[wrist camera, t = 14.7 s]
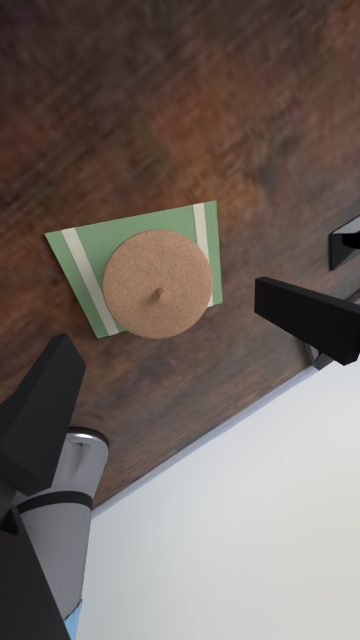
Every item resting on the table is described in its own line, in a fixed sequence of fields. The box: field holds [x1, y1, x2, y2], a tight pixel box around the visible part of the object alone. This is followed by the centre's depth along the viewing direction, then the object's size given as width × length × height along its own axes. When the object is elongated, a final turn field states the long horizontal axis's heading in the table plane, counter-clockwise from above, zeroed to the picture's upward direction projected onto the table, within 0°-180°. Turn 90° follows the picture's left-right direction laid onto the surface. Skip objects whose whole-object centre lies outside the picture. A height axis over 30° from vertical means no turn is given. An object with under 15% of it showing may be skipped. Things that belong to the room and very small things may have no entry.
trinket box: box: [102, 229, 213, 338], centre depth 19 cm, size 11×11×9 cm
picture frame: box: [304, 290, 360, 370], centre depth 40 cm, size 13×2×18 cm
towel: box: [45, 200, 222, 339], centre depth 24 cm, size 20×14×1 cm
